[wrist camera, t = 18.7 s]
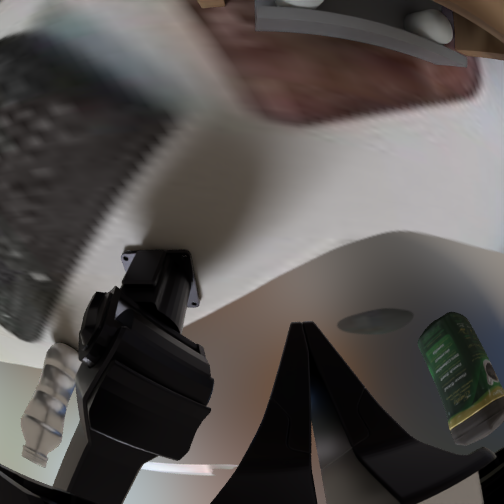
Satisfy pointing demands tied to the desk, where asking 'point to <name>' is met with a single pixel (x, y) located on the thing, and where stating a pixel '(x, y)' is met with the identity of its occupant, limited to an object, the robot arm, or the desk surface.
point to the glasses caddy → (367, 24)
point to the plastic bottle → (49, 403)
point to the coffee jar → (463, 378)
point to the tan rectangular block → (462, 25)
